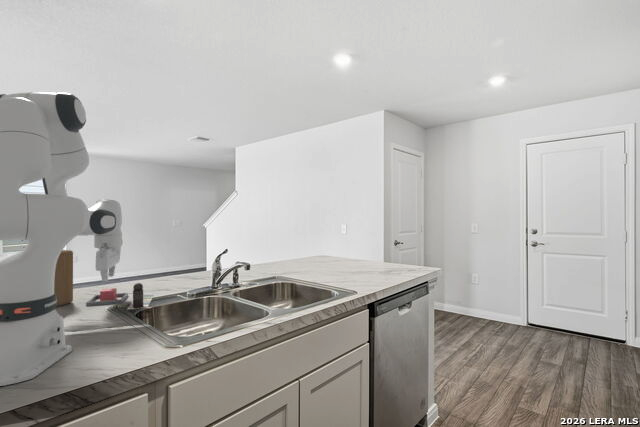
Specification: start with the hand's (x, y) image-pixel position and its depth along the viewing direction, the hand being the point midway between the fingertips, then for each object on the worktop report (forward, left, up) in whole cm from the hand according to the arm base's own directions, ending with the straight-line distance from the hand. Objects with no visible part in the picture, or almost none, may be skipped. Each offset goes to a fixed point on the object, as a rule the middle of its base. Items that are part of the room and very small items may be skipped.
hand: (108, 278), depth 125 cm
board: (-5, -12, -9) cm, 16 cm away
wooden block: (+3, +19, -9) cm, 21 cm away
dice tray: (0, 0, -9) cm, 9 cm away
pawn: (-13, -12, -8) cm, 20 cm away
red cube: (0, 0, -9) cm, 9 cm away
